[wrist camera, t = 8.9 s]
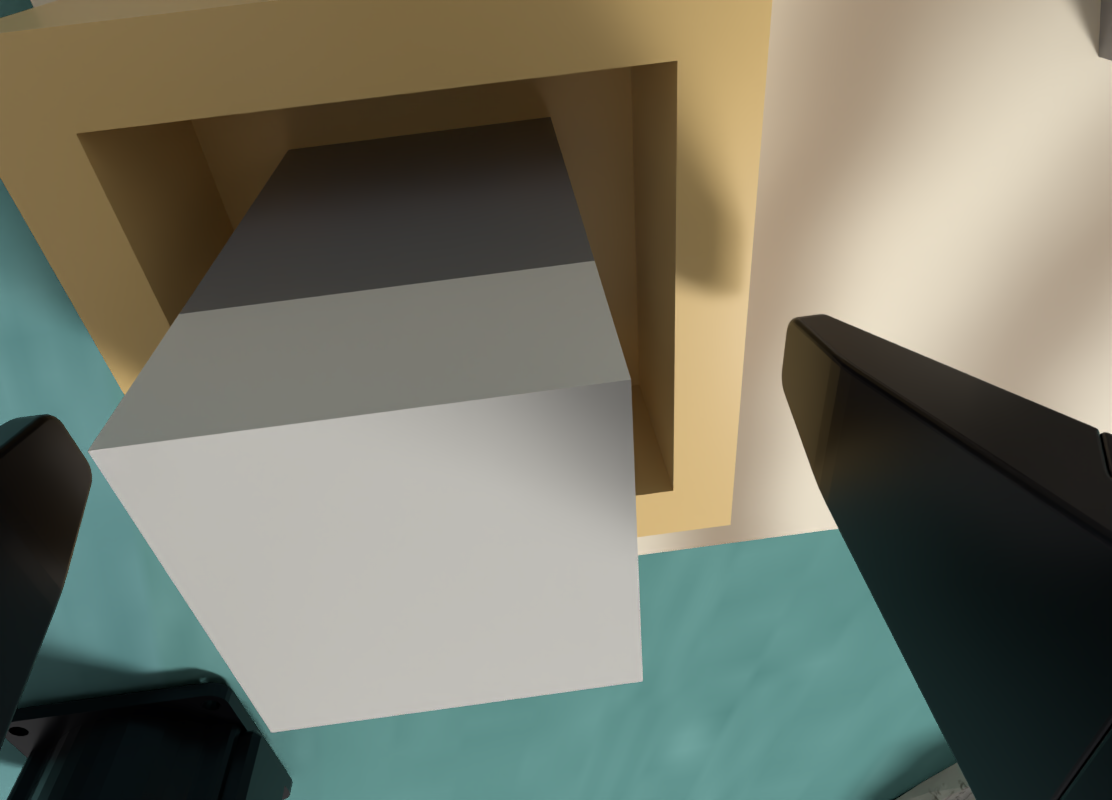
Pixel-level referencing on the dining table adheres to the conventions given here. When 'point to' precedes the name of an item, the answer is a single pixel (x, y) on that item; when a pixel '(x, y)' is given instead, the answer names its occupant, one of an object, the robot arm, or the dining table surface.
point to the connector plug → (396, 436)
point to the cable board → (925, 215)
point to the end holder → (402, 109)
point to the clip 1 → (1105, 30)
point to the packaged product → (942, 787)
